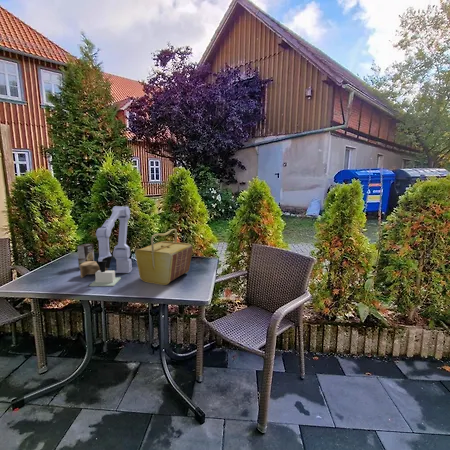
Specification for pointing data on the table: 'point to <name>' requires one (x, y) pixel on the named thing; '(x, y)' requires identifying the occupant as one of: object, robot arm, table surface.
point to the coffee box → (85, 253)
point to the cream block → (105, 276)
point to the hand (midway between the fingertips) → (105, 269)
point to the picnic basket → (163, 260)
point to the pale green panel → (105, 283)
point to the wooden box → (89, 268)
